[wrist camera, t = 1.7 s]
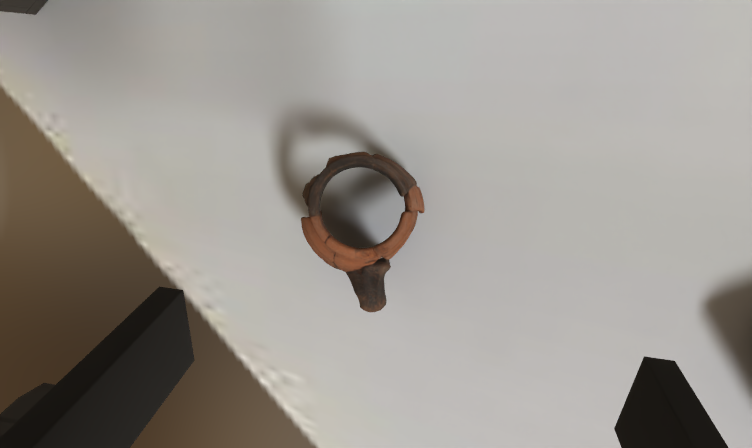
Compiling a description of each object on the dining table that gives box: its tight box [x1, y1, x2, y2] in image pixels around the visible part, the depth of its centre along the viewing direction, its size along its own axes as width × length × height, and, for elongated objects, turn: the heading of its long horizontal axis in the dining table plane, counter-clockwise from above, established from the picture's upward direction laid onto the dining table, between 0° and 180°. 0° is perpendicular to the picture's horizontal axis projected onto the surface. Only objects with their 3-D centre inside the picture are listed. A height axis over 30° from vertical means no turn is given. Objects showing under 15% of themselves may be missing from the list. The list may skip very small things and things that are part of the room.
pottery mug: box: [301, 152, 424, 312], centre depth 35 cm, size 12×10×8 cm
